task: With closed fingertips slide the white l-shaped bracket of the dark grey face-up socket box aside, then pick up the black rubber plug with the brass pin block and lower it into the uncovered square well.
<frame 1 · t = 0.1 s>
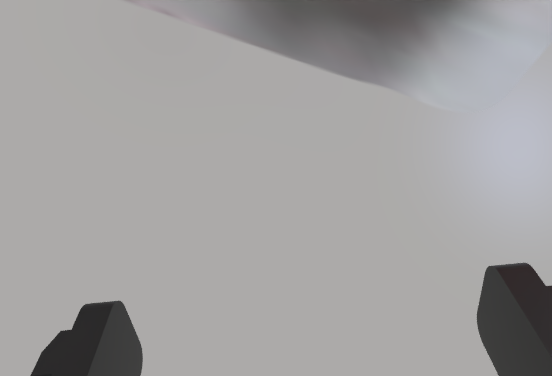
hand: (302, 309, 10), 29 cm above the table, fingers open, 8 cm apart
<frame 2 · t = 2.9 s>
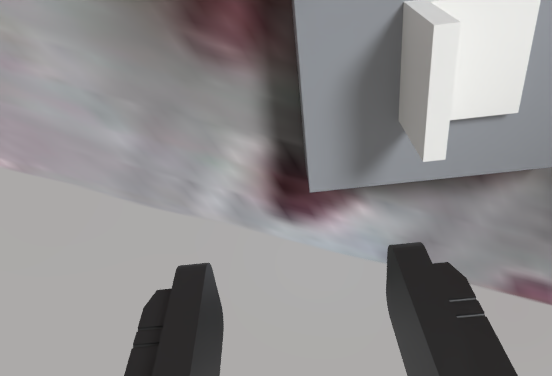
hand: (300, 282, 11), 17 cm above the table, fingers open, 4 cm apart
socket: (440, 40, 25), on the table
white l-shaped bracket: (479, 73, 20), point 5 cm above the table, slide at 0.0 cm
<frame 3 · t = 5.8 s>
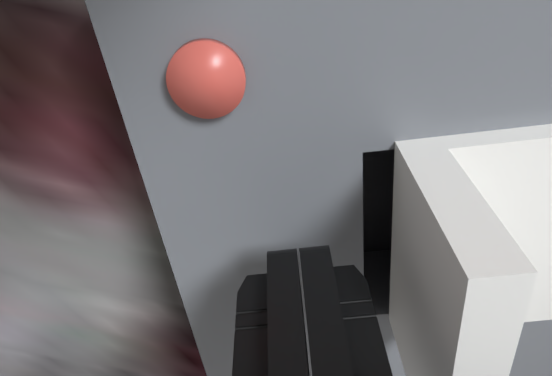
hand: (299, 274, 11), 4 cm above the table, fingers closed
socket: (431, 171, 15), on the table
white l-shaped bracket: (551, 292, 10), point 5 cm above the table, slide at 1.0 cm, touching gripper
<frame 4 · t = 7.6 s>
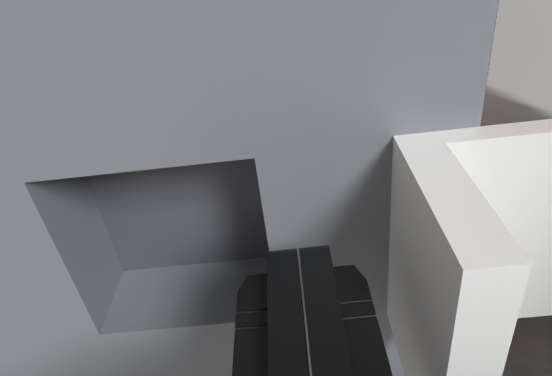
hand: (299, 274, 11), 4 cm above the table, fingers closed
socket: (184, 192, 15), on the table
white l-shaped bracket: (548, 286, 10), point 5 cm above the table, slide at 9.0 cm, touching gripper
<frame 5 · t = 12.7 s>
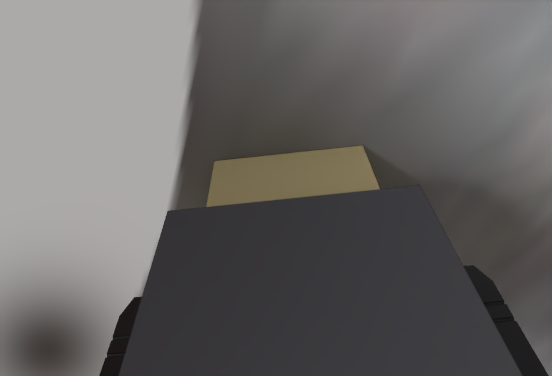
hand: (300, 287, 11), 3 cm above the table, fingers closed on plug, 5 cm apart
plug: (294, 212, 13), on the table, touching gripper
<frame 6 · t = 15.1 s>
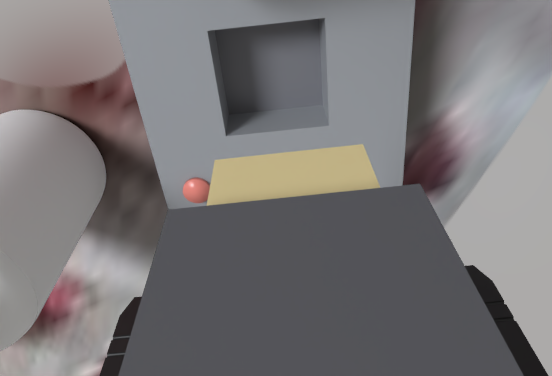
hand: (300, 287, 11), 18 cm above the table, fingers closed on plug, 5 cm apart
socket: (270, 61, 25), on the table
plug: (294, 211, 13), point 15 cm above the table, touching gripper
pill bottle: (45, 161, 29), on the table
when the fingers open (5 cm above the table, at t = 18.0 s): plug drops 2 cm, resting on socket.
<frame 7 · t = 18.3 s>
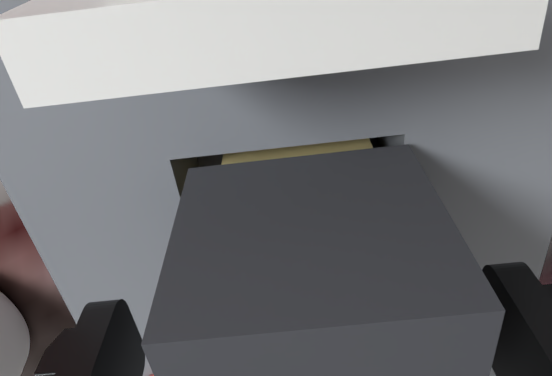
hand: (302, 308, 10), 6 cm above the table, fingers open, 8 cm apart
socket: (289, 176, 15), on the table
plug: (298, 180, 15), resting on socket
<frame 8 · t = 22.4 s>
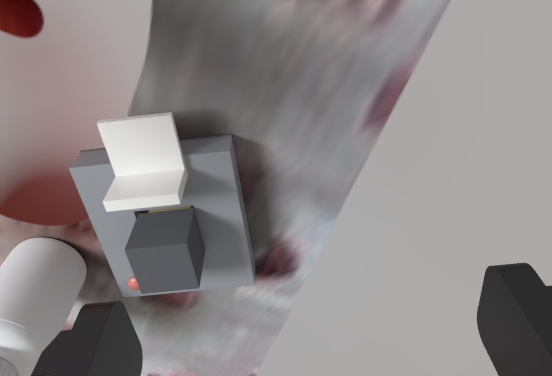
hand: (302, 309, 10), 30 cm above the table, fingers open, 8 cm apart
socket: (176, 212, 46), on the table
white l-shaped bracket: (139, 161, 36), point 5 cm above the table, slide at 9.0 cm
plug: (177, 214, 45), resting on socket
pill bottle: (51, 261, 49), on the table
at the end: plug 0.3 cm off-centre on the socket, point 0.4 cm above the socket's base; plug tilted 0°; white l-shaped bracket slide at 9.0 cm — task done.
